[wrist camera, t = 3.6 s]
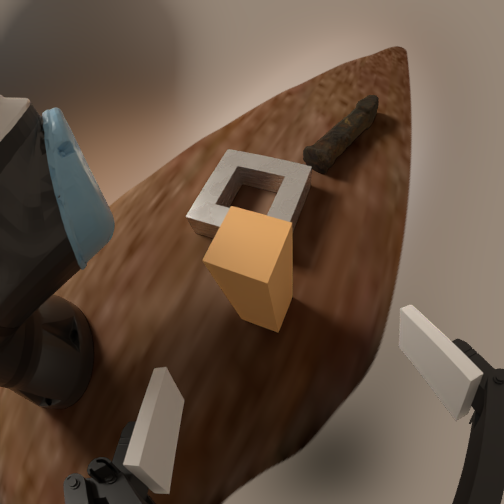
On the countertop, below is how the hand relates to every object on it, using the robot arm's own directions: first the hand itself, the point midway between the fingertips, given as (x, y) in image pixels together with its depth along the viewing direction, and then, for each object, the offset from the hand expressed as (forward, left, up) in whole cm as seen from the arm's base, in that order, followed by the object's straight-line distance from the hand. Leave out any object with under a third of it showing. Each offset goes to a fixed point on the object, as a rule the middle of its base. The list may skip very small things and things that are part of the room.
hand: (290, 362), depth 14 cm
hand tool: (-3, +33, -13) cm, 36 cm away
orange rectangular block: (-5, +5, -13) cm, 15 cm away
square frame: (-11, +16, -13) cm, 23 cm away
